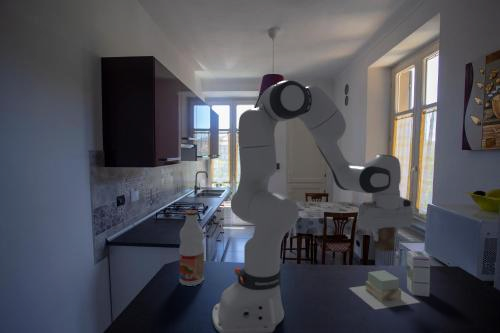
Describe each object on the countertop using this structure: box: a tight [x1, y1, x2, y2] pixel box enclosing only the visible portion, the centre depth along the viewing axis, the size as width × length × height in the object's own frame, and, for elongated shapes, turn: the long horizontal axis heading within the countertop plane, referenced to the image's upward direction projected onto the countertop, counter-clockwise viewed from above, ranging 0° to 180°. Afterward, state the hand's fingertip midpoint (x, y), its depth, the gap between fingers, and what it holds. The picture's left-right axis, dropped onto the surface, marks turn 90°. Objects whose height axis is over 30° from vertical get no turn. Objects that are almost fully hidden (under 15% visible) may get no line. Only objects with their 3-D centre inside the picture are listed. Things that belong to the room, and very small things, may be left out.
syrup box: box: [406, 250, 431, 297], centre depth 95 cm, size 6×6×14 cm
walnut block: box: [373, 227, 396, 252], centre depth 92 cm, size 4×4×8 cm
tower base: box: [365, 280, 402, 302], centre depth 93 cm, size 8×8×4 cm
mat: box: [348, 285, 421, 310], centre depth 93 cm, size 18×14×1 cm
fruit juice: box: [178, 209, 205, 286], centre depth 102 cm, size 9×9×28 cm
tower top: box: [367, 269, 400, 291], centre depth 93 cm, size 7×7×4 cm
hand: (384, 240), depth 92 cm, fingers closed on walnut block, 4 cm apart
